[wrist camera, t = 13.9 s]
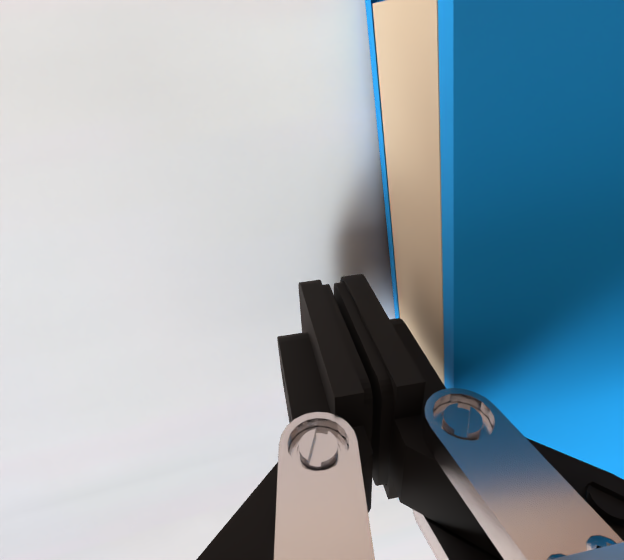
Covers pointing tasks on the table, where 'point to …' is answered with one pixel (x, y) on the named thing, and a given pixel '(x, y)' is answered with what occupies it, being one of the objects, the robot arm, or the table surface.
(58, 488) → the table surface
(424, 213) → the book
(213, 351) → the table surface
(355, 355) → the robot arm
